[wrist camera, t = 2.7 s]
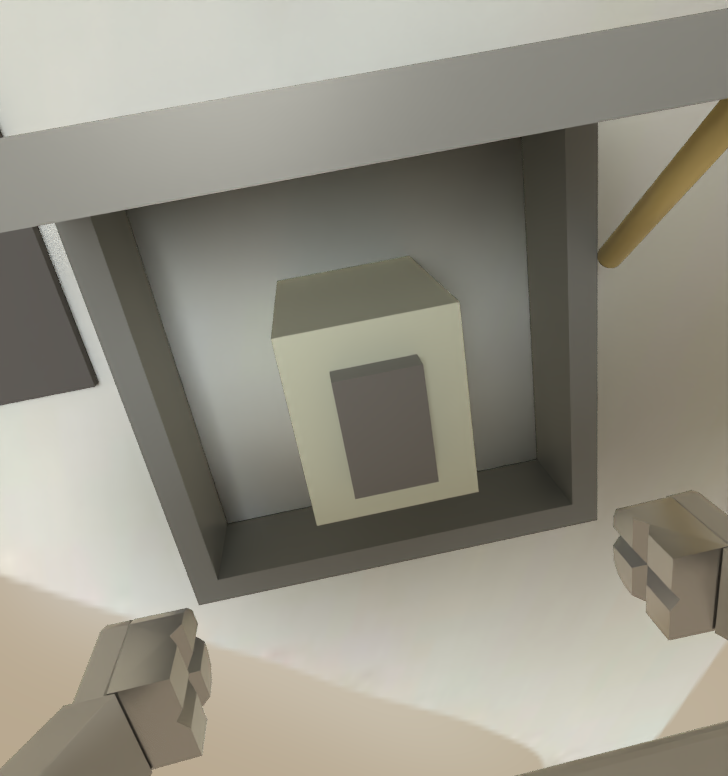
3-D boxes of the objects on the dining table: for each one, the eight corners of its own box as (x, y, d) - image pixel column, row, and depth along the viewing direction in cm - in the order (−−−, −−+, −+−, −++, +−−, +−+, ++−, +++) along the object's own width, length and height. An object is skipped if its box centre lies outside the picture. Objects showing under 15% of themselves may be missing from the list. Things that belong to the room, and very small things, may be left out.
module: (408, 255, 21) (468, 309, 14) (427, 398, 24) (486, 506, 16) (277, 280, 21) (269, 349, 14) (309, 422, 23) (318, 542, 16)
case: (569, 76, 19) (1057, -50, 7) (576, 470, 26) (836, 765, 13) (78, 165, 19) (-338, 198, 6) (210, 546, 25) (132, 932, 13)
